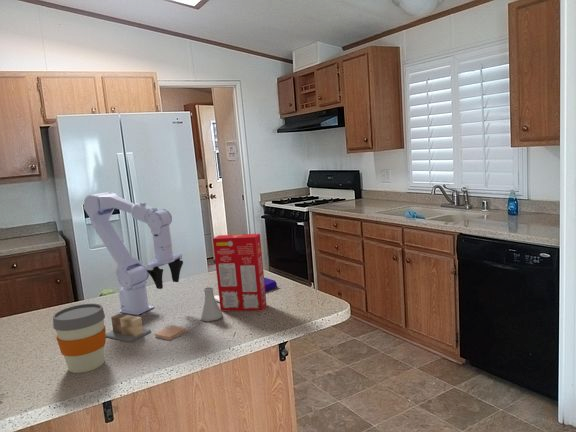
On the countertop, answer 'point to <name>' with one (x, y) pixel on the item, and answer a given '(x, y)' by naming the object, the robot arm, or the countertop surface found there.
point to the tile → (170, 332)
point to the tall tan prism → (127, 324)
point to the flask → (210, 306)
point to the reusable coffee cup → (81, 336)
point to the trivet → (126, 336)
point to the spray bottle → (268, 286)
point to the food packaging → (240, 272)
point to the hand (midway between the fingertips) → (167, 285)
